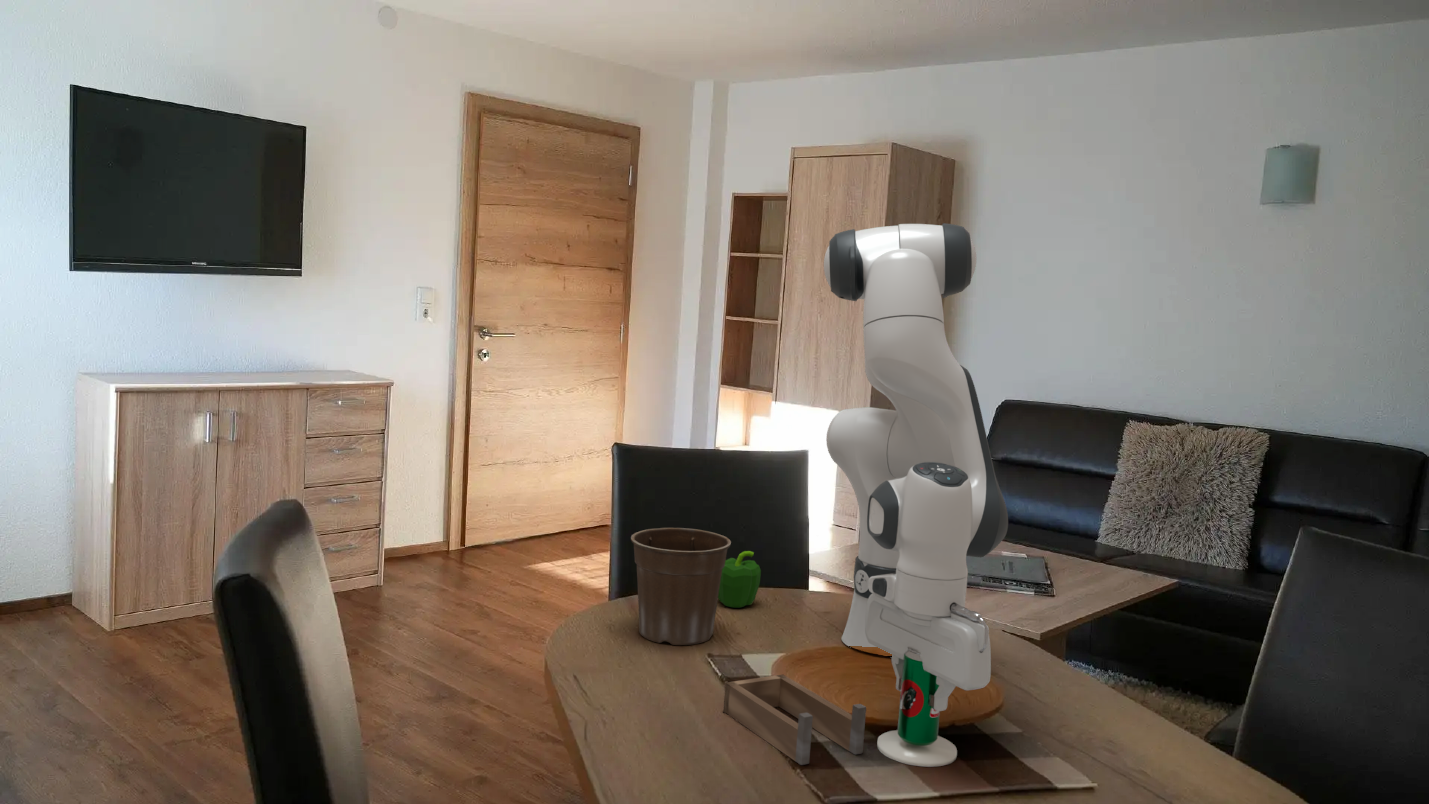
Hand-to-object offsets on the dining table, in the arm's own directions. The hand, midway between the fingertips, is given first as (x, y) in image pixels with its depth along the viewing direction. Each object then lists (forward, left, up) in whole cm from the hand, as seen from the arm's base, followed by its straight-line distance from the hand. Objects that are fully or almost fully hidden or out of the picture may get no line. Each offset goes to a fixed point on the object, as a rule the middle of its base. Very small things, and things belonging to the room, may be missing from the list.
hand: (920, 699), depth 141 cm
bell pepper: (-12, -64, -7) cm, 65 cm away
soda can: (0, 0, -5) cm, 5 cm away
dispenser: (+12, -12, -7) cm, 18 cm away
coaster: (0, 0, -7) cm, 7 cm away
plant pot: (+7, -52, -7) cm, 53 cm away
